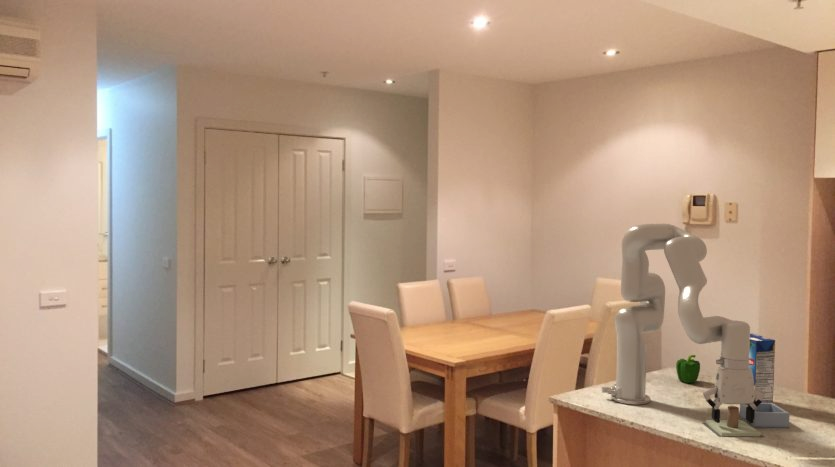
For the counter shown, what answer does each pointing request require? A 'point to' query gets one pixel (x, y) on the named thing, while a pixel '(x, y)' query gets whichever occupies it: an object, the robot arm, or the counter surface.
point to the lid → (733, 425)
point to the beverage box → (762, 365)
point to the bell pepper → (688, 369)
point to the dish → (767, 416)
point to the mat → (727, 436)
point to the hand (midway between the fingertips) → (732, 421)
